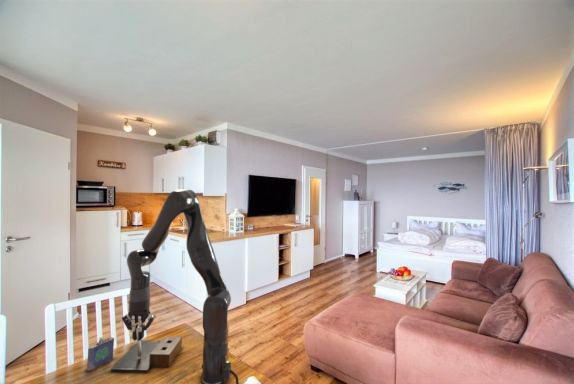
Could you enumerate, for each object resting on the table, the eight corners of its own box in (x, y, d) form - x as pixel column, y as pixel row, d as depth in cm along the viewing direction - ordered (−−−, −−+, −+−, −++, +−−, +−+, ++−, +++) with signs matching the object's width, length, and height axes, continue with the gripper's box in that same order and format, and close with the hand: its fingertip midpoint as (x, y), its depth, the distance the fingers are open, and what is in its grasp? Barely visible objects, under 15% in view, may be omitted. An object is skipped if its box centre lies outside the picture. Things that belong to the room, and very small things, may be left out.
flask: (88, 372, 99) (90, 344, 99) (84, 369, 100) (86, 342, 100) (114, 359, 107) (115, 333, 107) (110, 357, 108) (111, 331, 108)
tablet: (169, 343, 120) (169, 340, 120) (146, 372, 100) (147, 369, 100) (139, 342, 119) (139, 340, 119) (110, 371, 99) (111, 369, 99)
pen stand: (181, 348, 116) (181, 337, 116) (168, 367, 103) (169, 354, 103) (163, 347, 116) (164, 336, 116) (149, 366, 103) (149, 354, 103)
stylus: (142, 355, 108) (140, 326, 105) (140, 357, 106) (138, 329, 104) (139, 355, 108) (137, 326, 105) (137, 357, 106) (135, 328, 104)
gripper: (117, 300, 102) (115, 344, 101) (151, 301, 102) (149, 345, 101) (128, 293, 109) (127, 334, 109) (160, 294, 109) (159, 335, 109)
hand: (138, 339), depth 105 cm, fingers closed on stylus, 1 cm apart
